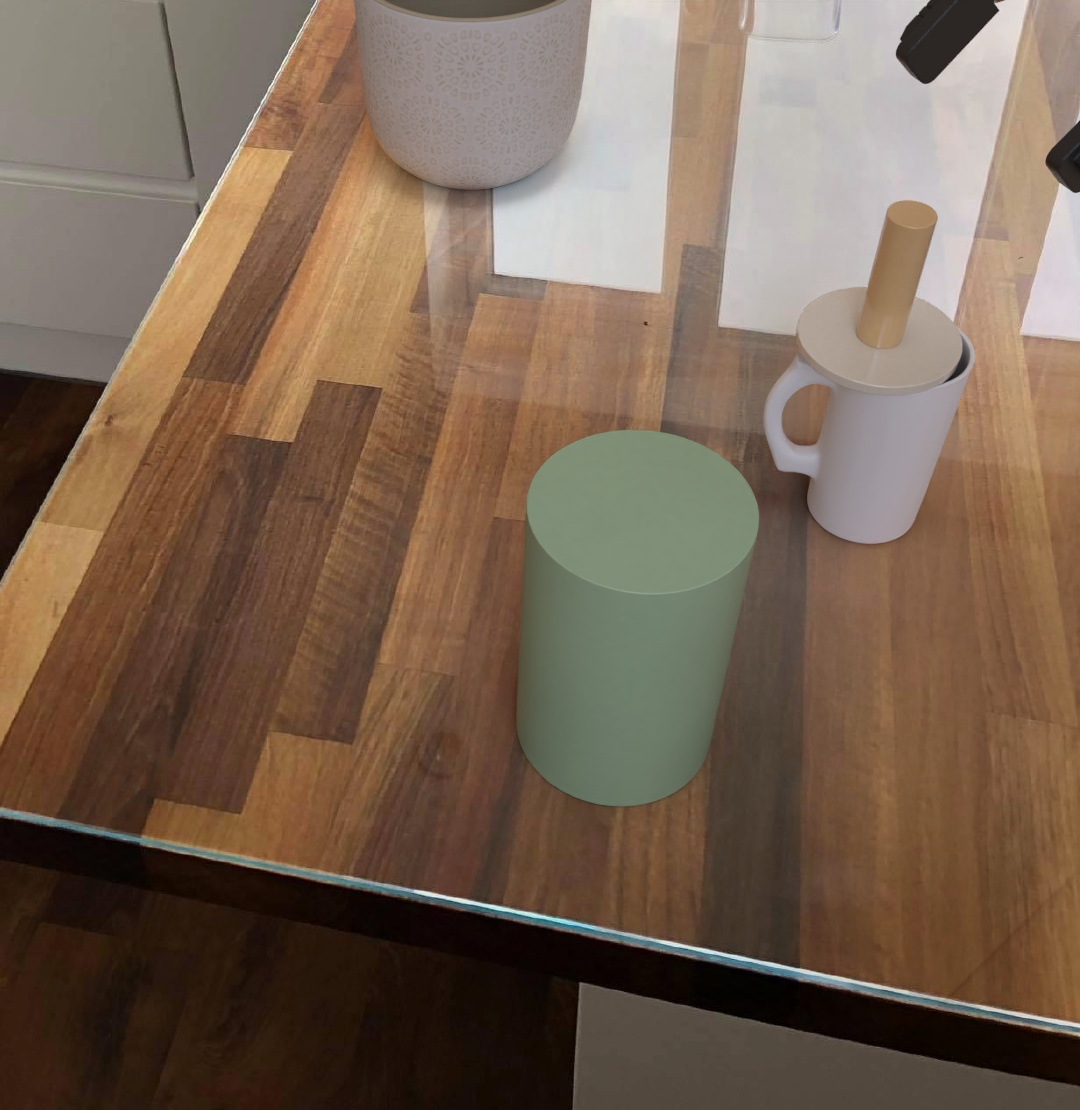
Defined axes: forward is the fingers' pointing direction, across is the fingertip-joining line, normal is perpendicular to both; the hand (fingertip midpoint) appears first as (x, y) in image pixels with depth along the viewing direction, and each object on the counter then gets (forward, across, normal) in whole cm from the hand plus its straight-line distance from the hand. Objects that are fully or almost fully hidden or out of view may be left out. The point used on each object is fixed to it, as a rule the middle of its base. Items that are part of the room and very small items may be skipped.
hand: (980, 122), depth 52 cm
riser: (+31, -1, +14) cm, 34 cm away
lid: (+9, -10, +19) cm, 23 cm away
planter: (+19, -53, +25) cm, 62 cm away
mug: (+17, -10, +28) cm, 34 cm away
